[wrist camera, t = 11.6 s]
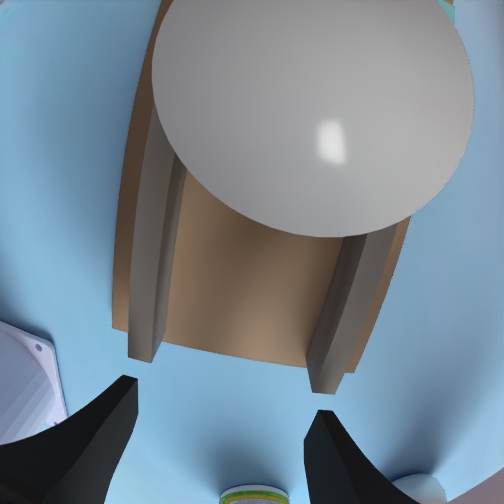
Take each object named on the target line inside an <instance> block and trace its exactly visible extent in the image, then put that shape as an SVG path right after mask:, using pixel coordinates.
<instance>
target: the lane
mask: <svg viewBox="0 0 504 504" xmlns="http://www.w3.org/2000/svg"><path fill="white" fill-rule="evenodd" d="M173 1H174V0H162V2H161V5H160V8H159V11H158V14H157V17H156V21H155V24H154V27H153V31H152V34H151V37H150V41H149V45H148V48H147V52H146V56H145V59H144V63H143V67H142V71H141V75H140V80H139V84H138V88H137V93H136V97H135V102H134V107H133V112H132V117H131V122H130V127H129V133H128V139H127V145H126V151H125V157H124V164H123V171H122V178H121V186H120V194H119V203H118V212H117V223H116V235H115V248H114V265H113V291H112V328H113V329H117V330H121V331H124V332H128V357H129V358H133V359H136V360H140V361H144V362H148V363H151V362H152V360H153V358H154V356H155V354H156V352H157V350H158V348H159V346H160V343H161V341H163V342H167V343H172V344H176V345H180V346H185V347H189V348H194V349H199V350H203V351H208V352H213V353H218V354H223V355H228V356H234V357H239V358H245V359H250V360H256V361H262V362H268V363H275V364H281V365H288V366H295V367H303V368H307V369H308V374H309V379H310V384H311V389H312V392H313V393H323V394H334V395H335V393H336V391H337V388H338V386H339V384H340V382H341V380H342V377H343V375H344V373H354V372H355V369H356V367H357V365H358V363H359V361H360V358H361V356H362V354H363V351H364V349H365V347H366V344H367V342H368V339H369V337H370V335H371V332H372V330H373V327H374V325H375V322H376V319H377V317H378V314H379V312H380V309H381V306H382V304H383V301H384V298H385V296H386V293H387V290H388V287H389V284H390V281H391V278H392V276H393V273H394V270H395V267H396V264H397V260H398V257H399V254H400V251H401V248H402V245H403V241H404V238H405V235H406V231H407V228H408V224H409V221H410V217H411V215H410V216H408V217H407V218H405V219H403V220H402V221H400V222H397V223H395V224H393V225H390V226H388V227H385V228H383V229H380V230H376V231H373V232H369V233H365V234H361V235H353V236H345V237H314V236H306V235H299V234H293V233H290V232H286V231H282V230H278V229H274V228H271V227H269V226H267V225H264V224H262V223H259V222H257V221H254V220H252V219H250V218H248V217H246V216H244V215H243V214H241V213H239V212H237V211H235V210H234V209H232V208H230V207H229V206H227V205H226V204H225V203H223V202H222V201H221V200H219V199H218V198H217V197H215V196H214V195H212V194H211V193H210V192H209V191H208V190H207V189H206V188H205V187H204V186H203V185H202V184H201V183H200V182H199V181H198V180H196V179H195V178H194V176H193V175H192V174H191V173H190V171H189V170H188V169H187V168H186V166H185V165H184V164H183V163H182V162H181V160H180V159H179V157H178V155H177V154H176V152H175V151H174V149H173V147H172V146H171V144H170V142H169V141H168V138H167V136H166V134H165V131H164V129H163V127H162V124H161V122H160V119H159V116H158V112H157V108H156V105H155V101H154V94H153V86H152V58H153V53H154V48H155V42H156V38H157V35H158V32H159V29H160V26H161V24H162V21H163V19H164V17H165V15H166V13H167V11H168V9H169V7H170V6H171V4H172V2H173ZM443 1H445V2H447V3H449V4H451V5H453V0H443Z"/></svg>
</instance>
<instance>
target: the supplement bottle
mask: <svg viewBox="0 0 504 504" xmlns="http://www.w3.org/2000/svg"><path fill="white" fill-rule="evenodd" d="M219 504H290V499H289V497H288V495H287V494H286V493H285V492H283V491H282V490H280V489H277V488H274V487H271V486H266V485H243V486H237V487H234V488H231V489H228V490H226V491H225V492H224V493H223V494H222V495H221V497H220V500H219Z"/></svg>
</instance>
